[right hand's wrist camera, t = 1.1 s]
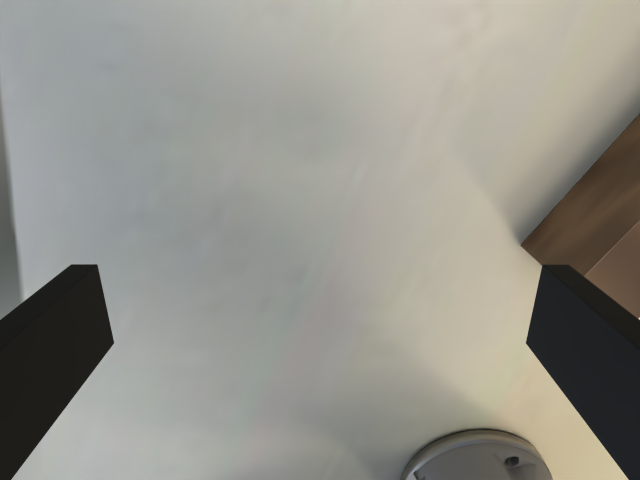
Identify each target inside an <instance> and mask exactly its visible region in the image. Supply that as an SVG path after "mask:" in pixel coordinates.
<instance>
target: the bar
mask: <svg viewBox="0 0 640 480" xmlns="http://www.w3.org/2000/svg"><path fill="white" fill-rule="evenodd" d="M521 247H522V248H523V249H525V250H526V251H527V252H528V253H529V254H530V255H531V256H532V257H533V258H534V259H536V260H537V261H538V262H539V263H540V264H541V265H570V266H571V267H573V268H574V269H575V270H576V271H578V272H579V273H580V274H581V275H583V276H584V277H585V278H587V279H588V280H589V281H590V282H592V283H593V284H594V285H595V286H597V287H598V288H599V289H601V290H602V291H603V292H604V293H606V294H607V295H608V296H610V297H611V298H612V299H613V300H615V301H616V302H617V303H618V304H620V305H621V306H622V307H624V308H625V309H626V310H627V311H629V312H630V313H631V314H633V315H634V316H635V317H636V318H639V317H640V114H639V115H638V116H637V117H636V119H635V120H634V121H633V122H632V123H631V124H630V125H629V126H628V127H627V129H626V130H625V131H624V132H623V133H622V134H621V135H620V136H619V137H618V138H617V140H616V141H615V142H614V143H613V144H612V145H611V146H610V147H609V148H608V149H607V151H606V152H605V153H604V154H603V155H602V156H601V157H600V158H599V159H598V161H597V162H596V163H595V164H594V165H593V166H592V167H591V168H590V169H589V170H588V172H587V173H586V174H585V175H584V176H583V177H582V178H581V179H580V180H579V181H578V183H577V184H576V185H575V186H574V187H573V188H572V189H571V190H570V191H569V192H568V194H567V195H566V196H565V197H564V198H563V199H562V200H561V201H560V202H559V204H558V205H557V206H556V207H555V208H554V209H553V210H552V211H551V212H550V213H549V215H548V216H547V217H546V218H545V219H544V220H543V221H542V222H541V223H540V224H539V226H538V227H537V228H536V229H535V230H534V231H533V232H532V233H531V234H530V236H529V237H528V238H527V239H526V240H525V241H524V242H523V243H522V244H521Z"/></svg>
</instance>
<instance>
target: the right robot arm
mask: <svg viewBox="0 0 640 480" xmlns="http://www.w3.org/2000/svg"><path fill="white" fill-rule="evenodd" d="M113 344H114V341H113V336H112V331H111V326H110V322H109V317H108V312H107V308H106V303H105V298H104V294H103V289H102V284H101V280H100V275H99V270H98V265H70V266H69V267H67V268H66V269H65V270H64V271H62V272H61V273H60V274H59V275H57V276H56V277H55V278H53V279H52V280H51V281H50V282H48V283H47V284H46V285H45V286H43V287H42V288H41V289H39V290H38V291H37V292H36V293H34V294H33V295H32V296H30V297H29V298H28V299H27V300H25V301H24V302H23V303H22V304H20V305H19V306H18V307H16V308H15V309H14V310H13V311H11V312H10V313H9V314H8V315H6V316H5V317H4V318H2V319H1V320H0V480H11V479H12V478H13V476H14V475H15V474H16V472H17V471H18V470H19V468H20V467H21V466H22V464H23V463H24V462H25V460H26V459H27V458H28V457H29V455H30V454H31V453H32V451H33V450H34V449H35V447H36V446H37V445H38V443H39V442H40V441H41V439H42V438H43V437H44V435H45V434H46V433H47V431H48V430H49V429H50V427H51V426H52V425H53V423H54V422H55V421H56V419H57V418H58V417H59V415H60V414H61V413H62V411H63V410H64V409H65V407H66V406H67V405H68V403H69V402H70V401H71V399H72V398H73V397H74V395H75V394H76V393H77V392H78V390H79V389H80V388H81V386H82V385H83V384H84V382H85V381H86V380H87V378H88V377H89V376H90V374H91V373H92V372H93V370H94V369H95V368H96V366H97V365H98V364H99V362H100V361H101V360H102V358H103V357H104V356H105V354H106V353H107V352H108V350H109V349H110V348H111V346H112V345H113ZM526 344H527V345H528V346H529V348H530V349H531V350H532V352H533V353H534V354H535V356H536V357H537V358H538V360H539V361H540V362H541V364H542V365H543V366H544V368H545V369H546V370H547V372H548V373H549V374H550V376H551V377H552V378H553V380H554V381H555V382H556V384H557V385H558V386H559V388H560V389H561V390H562V392H563V393H564V394H565V395H566V397H567V398H568V399H569V401H570V402H571V403H572V405H573V406H574V407H575V409H576V410H577V411H578V413H579V414H580V415H581V417H582V418H583V419H584V421H585V422H586V423H587V425H588V426H589V427H590V429H591V430H592V431H593V433H594V434H595V435H596V437H597V438H598V439H599V441H600V442H601V443H602V445H603V446H604V447H605V449H606V450H607V451H608V453H609V454H610V455H611V457H612V458H613V459H614V461H615V462H616V463H617V464H618V466H619V467H620V468H621V470H622V471H623V472H624V474H625V475H626V476H627V478H628V479H629V480H640V320H639V319H638V318H636V317H635V316H634V315H633V314H631V313H630V312H629V311H627V310H626V309H625V308H624V307H622V306H621V305H620V304H618V303H617V302H616V301H615V300H613V299H612V298H611V297H610V296H608V295H607V294H606V293H604V292H603V291H602V290H601V289H599V288H598V287H597V286H595V285H594V284H593V283H592V282H590V281H589V280H588V279H587V278H585V277H584V276H583V275H581V274H580V273H579V272H578V271H576V270H575V269H574V268H573V267H571V266H570V265H542V270H541V275H540V280H539V284H538V289H537V294H536V298H535V303H534V308H533V312H532V317H531V322H530V326H529V331H528V336H527V341H526ZM401 480H553V479H552V476H551V473H550V471H549V469H548V467H547V466H546V464H545V462H544V460H543V459H542V457H541V455H540V454H539V452H538V451H537V450H536V449H535V448H534V447H533V446H532V445H531V444H529V443H528V442H526V441H525V440H523V439H521V438H519V437H517V436H514V435H512V434H508V433H505V432H500V431H493V430H474V431H466V432H460V433H456V434H453V435H449V436H446V437H444V438H442V439H439V440H437V441H435V442H433V443H431V444H430V445H428V446H427V447H425V448H424V449H422V450H421V451H420V452H419V453H418V454H416V455H415V456H414V457H413V459H412V460H411V461H410V462H409V463H408V465H407V467H406V468H405V470H404V472H403V475H402V478H401Z"/></svg>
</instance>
